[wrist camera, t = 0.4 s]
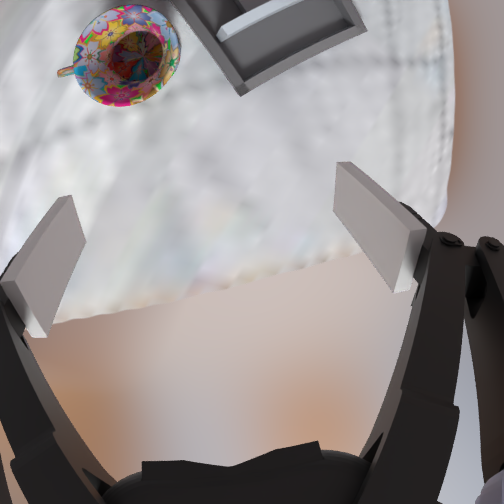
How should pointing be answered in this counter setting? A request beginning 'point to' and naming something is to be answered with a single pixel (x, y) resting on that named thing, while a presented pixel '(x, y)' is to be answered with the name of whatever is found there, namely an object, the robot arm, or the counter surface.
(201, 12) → the grey tray
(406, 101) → the counter surface
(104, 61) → the mug
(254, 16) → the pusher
